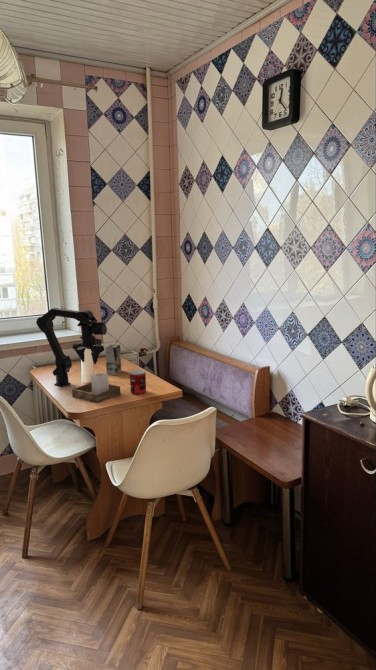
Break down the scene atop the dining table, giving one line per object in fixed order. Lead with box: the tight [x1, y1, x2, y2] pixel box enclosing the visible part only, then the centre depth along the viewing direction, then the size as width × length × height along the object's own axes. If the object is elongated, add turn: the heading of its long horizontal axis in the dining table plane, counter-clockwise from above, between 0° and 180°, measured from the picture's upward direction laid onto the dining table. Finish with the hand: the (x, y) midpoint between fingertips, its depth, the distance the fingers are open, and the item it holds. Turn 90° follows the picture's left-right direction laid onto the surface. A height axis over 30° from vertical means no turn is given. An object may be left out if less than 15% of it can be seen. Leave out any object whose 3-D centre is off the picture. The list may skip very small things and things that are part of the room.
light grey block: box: [90, 372, 110, 394], centre depth 239 cm, size 6×6×10 cm
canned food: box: [129, 369, 147, 395], centre depth 242 cm, size 8×8×11 cm
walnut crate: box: [71, 382, 121, 404], centre depth 240 cm, size 18×16×4 cm
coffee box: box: [104, 344, 122, 376], centre depth 279 cm, size 9×6×16 cm
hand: (89, 363), depth 253 cm, fingers open, 9 cm apart
